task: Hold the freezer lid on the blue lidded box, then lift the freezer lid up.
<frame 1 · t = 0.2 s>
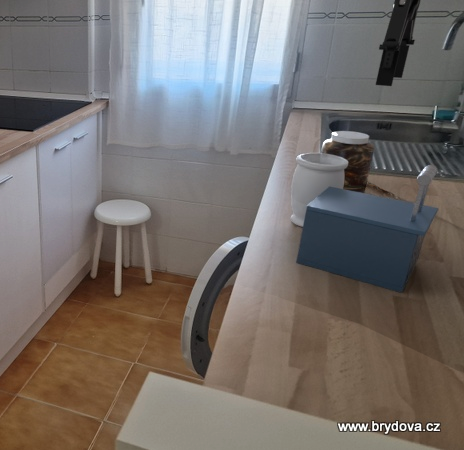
hand: (389, 81, 110), 31 cm above the countertop, tool pointing down, fingers open, 13 cm apart
blue lidded box: (355, 263, 104), on the countertop
jar: (309, 223, 123), on the countertop
freezer lid: (377, 186, 98), point 16 cm above the countertop, hinge at 0.0°
jar 2: (338, 191, 142), on the countertop
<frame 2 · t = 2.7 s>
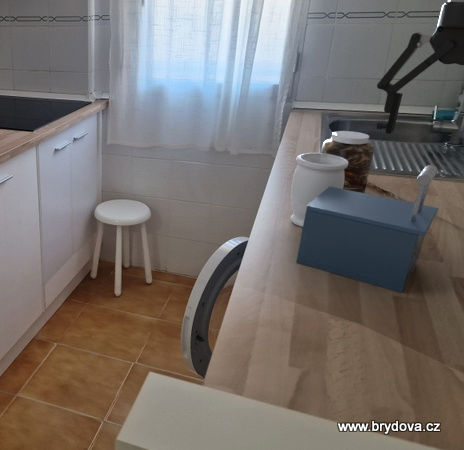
hand: (435, 138, 90), 26 cm above the countertop, tool pointing down, fingers open, 13 cm apart
nothing on the countertop moved.
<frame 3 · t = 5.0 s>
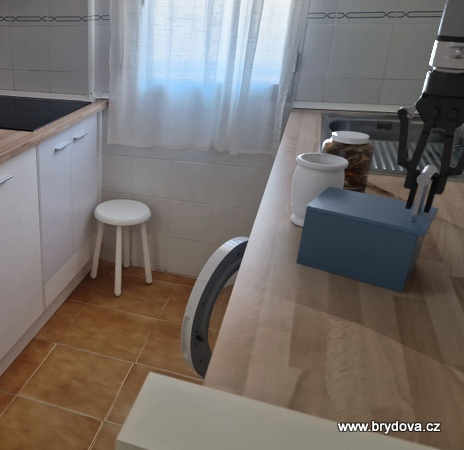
hand: (418, 208, 95), 13 cm above the countertop, tool pointing down, fingers closed on freezer lid, 2 cm apart
freezer lid: (377, 186, 98), point 16 cm above the countertop, hinge at 0.0°, touching gripper
everything else where it was.
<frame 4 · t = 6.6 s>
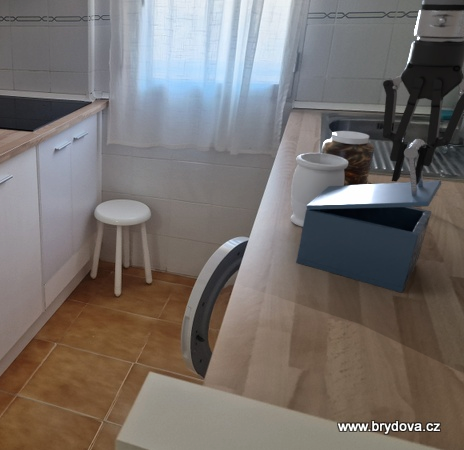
hand: (405, 180, 95), 18 cm above the countertop, tool pointing down, fingers open, 2 cm apart
freezer lid: (370, 172, 98), point 18 cm above the countertop, hinge at 15.8°, touching gripper
everything else where it was.
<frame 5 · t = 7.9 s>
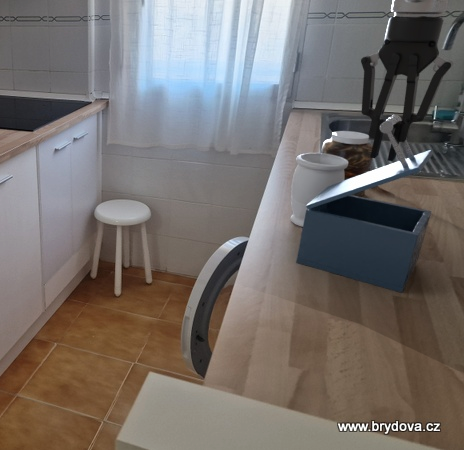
hand: (382, 157, 96), 21 cm above the countertop, tool pointing down, fingers closed on freezer lid, 2 cm apart
freezer lid: (358, 158, 98), point 20 cm above the countertop, hinge at 33.8°, touching gripper
everything else where it was.
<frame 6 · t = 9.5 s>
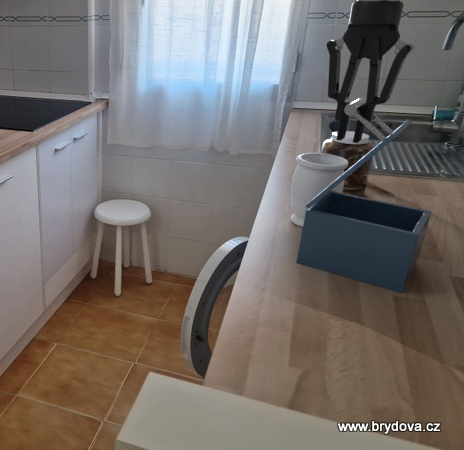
hand: (348, 139, 98), 23 cm above the countertop, tool pointing down, fingers closed on freezer lid, 2 cm apart
freezer lid: (340, 148, 100), point 22 cm above the countertop, hinge at 54.1°, touching gripper
everything else where it was.
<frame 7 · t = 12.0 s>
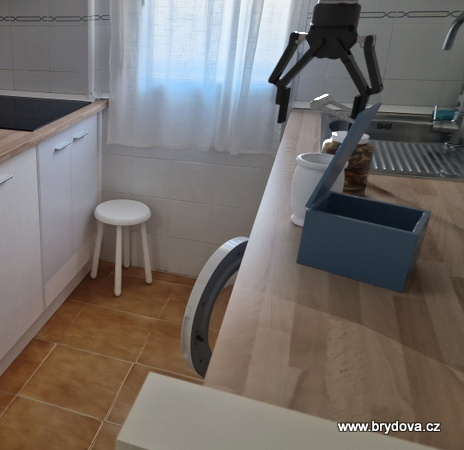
hand: (315, 127, 101), 25 cm above the countertop, tool pointing down, fingers open, 12 cm apart
freezer lid: (321, 144, 102), point 22 cm above the countertop, hinge at 72.4°, touching gripper
everything else where it was.
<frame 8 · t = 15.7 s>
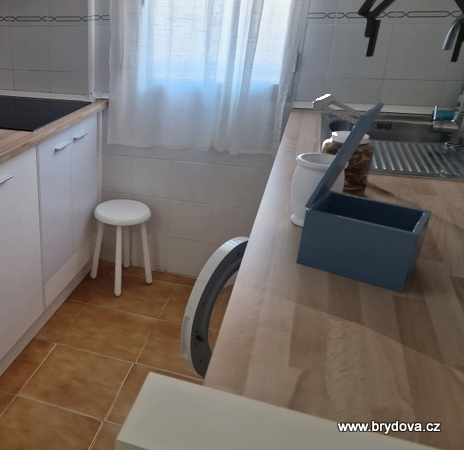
hand: (409, 58, 100), 37 cm above the countertop, tool pointing down, fingers open, 13 cm apart
freezer lid: (322, 144, 101), point 22 cm above the countertop, hinge at 71.2°
everything else where it was.
at the end: freezer lid at +71° (first picture: +0°); the gripper is holding nothing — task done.
